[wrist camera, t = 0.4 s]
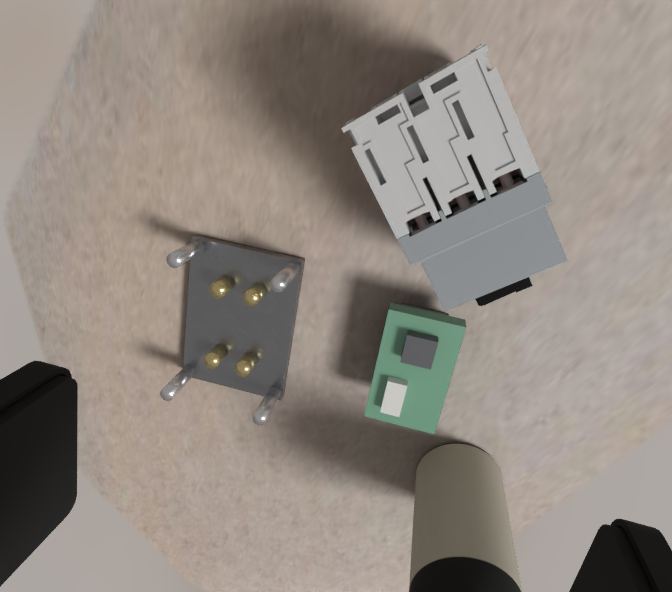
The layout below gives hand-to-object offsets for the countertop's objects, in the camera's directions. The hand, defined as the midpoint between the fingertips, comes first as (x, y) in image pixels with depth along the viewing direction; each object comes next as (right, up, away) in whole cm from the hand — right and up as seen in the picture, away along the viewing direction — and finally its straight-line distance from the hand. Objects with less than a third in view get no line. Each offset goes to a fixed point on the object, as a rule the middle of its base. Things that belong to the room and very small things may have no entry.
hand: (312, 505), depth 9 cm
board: (+7, -2, +33) cm, 34 cm away
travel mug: (+12, -14, +40) cm, 44 cm away
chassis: (-8, +2, +38) cm, 39 cm away
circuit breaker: (+10, +13, +30) cm, 34 cm away
